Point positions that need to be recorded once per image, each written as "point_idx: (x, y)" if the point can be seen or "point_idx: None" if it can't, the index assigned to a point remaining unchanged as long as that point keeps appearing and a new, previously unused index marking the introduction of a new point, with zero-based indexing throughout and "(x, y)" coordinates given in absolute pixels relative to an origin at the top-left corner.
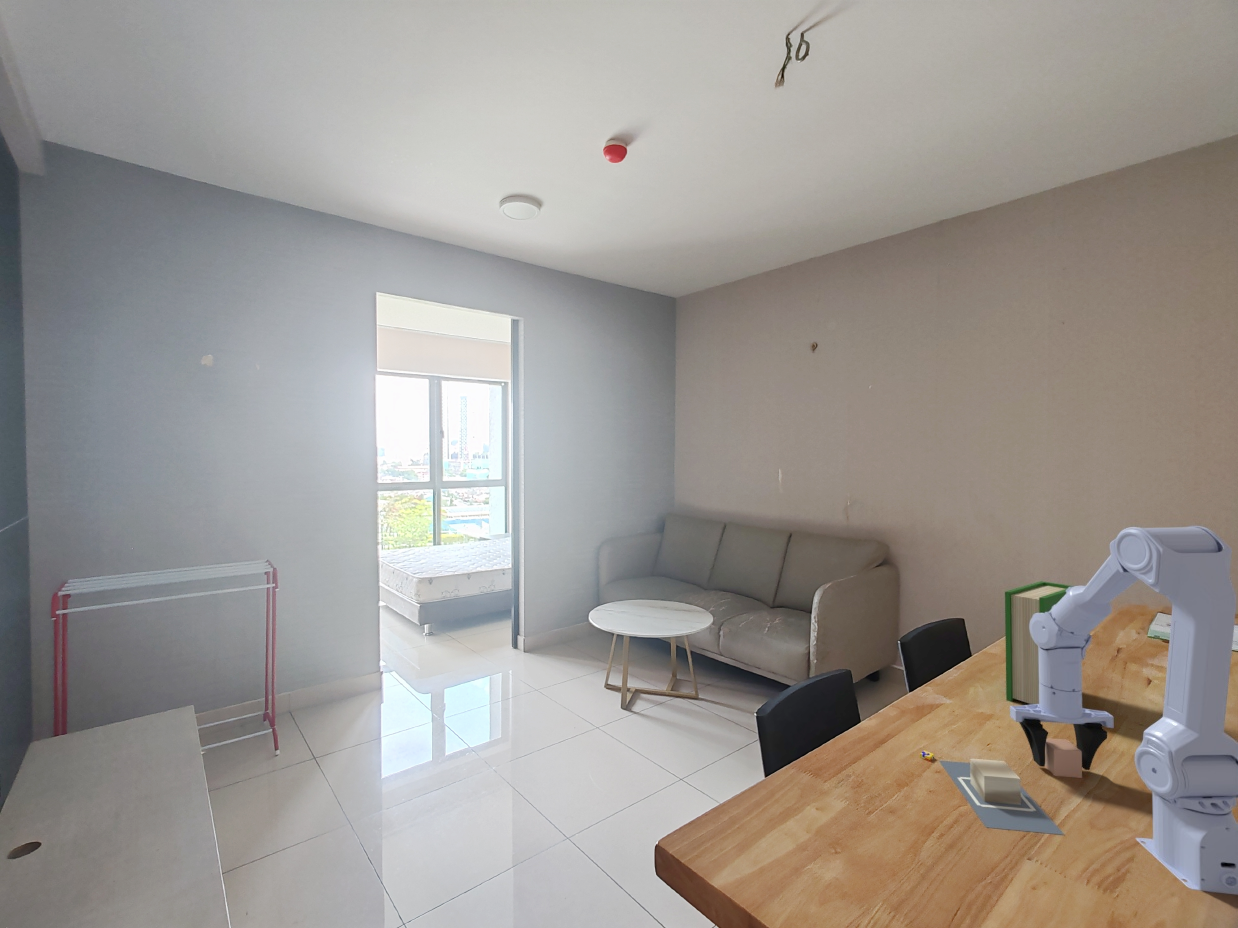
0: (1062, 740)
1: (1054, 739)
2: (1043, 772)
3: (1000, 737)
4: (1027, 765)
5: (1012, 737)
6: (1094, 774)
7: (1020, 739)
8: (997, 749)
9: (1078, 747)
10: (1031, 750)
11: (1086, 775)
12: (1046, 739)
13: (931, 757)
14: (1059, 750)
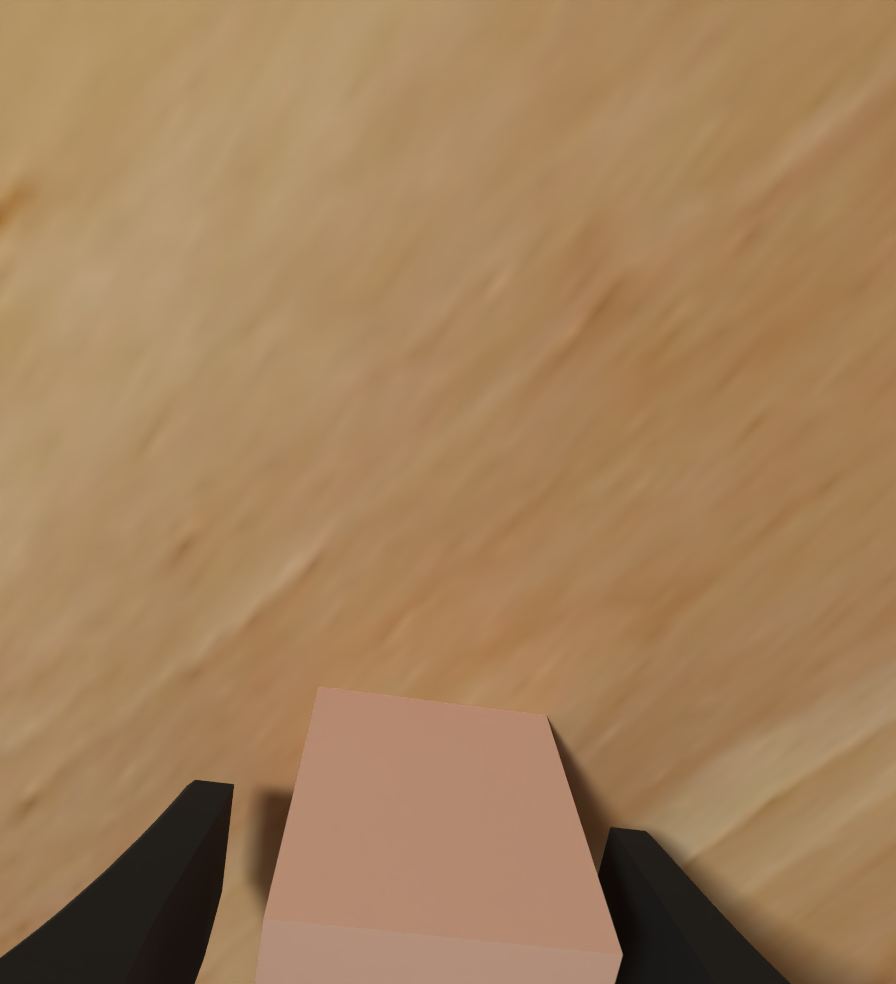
0: (529, 981)
1: (435, 957)
2: (261, 789)
3: (252, 34)
4: (185, 679)
5: (416, 39)
6: (700, 808)
7: (485, 101)
8: (41, 358)
9: (675, 975)
10: (147, 829)
11: (616, 823)
12: (317, 954)
13: None
14: None
